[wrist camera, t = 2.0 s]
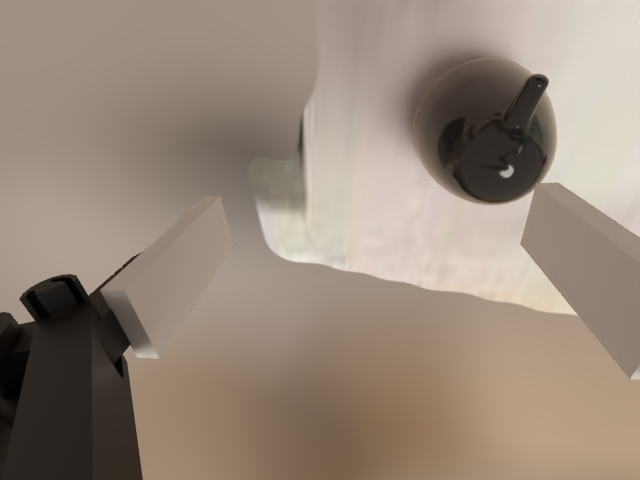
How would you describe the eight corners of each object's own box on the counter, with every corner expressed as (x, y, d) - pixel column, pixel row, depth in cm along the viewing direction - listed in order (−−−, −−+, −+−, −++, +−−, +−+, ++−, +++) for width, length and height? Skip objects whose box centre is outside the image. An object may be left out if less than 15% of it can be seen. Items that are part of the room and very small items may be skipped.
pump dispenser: (548, 52, 27) (670, 85, 15) (503, 168, 33) (562, 259, 21) (424, 46, 28) (440, 72, 16) (402, 158, 34) (403, 237, 22)
